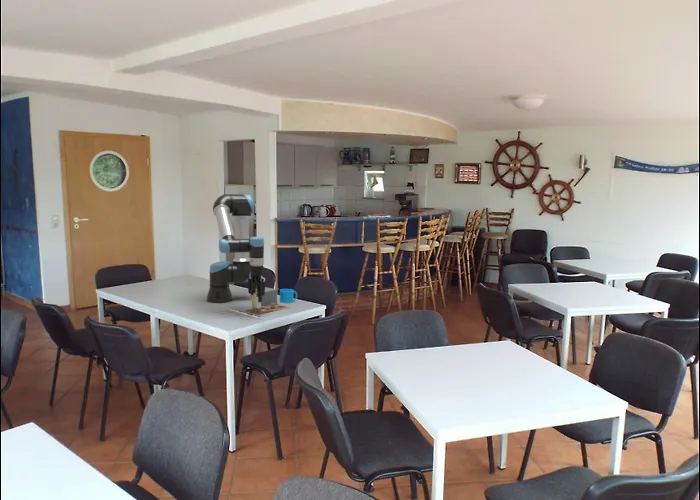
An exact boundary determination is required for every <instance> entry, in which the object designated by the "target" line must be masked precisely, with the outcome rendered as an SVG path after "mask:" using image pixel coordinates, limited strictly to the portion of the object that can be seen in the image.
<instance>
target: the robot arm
mask: <svg viewBox="0 0 700 500" xmlns="http://www.w3.org/2000/svg"><path fill="white" fill-rule="evenodd" d="M212 211H213V212H212V213H213V215H214V216H215V218H216V221H217V227H218V230H219V235H220V238H221V239H219V240H218V252H220V253H222V254H223V253H224V254H234V259H232V263H230V261H224V260H223V261H217V262H214V263H211V264H210V266H209V289H208V292H207V295H206V302H210V303H219V304H220V303H221V304H222V303H230V302H232V300H233V295H232V291H231V287H230V284H233V283H247V290H248V291H247V292H248V294H250V300H251V304H250V305H251V307H252V308H253V293H255V291H256V289H257V294H258V296H257V300H256V308H261V307H262V306H261V302H262V296H263V295H265V287H266V282H267V278H266V277H263V276H264V275H263V273H264V268H265V267H264V264H265V262H264V261H265V258H264V257H265V255H264V253H265V252H264V251H265V238H264V237H262V236H251V237H250V218H252V215H253V214H254V213H255V204H254V200H253V197H252V196H251V195H250V194H245V193H243V194H240V193H239V194H235V193H232V194H231V193H224V194H222V195H219V196H218V198H216V200H215V201H214V203H213V206H212ZM230 214H231V216H232V218H233V219H234V229H233V225H232V220H231V216H230Z"/></svg>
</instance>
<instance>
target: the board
mask: <svg viewBox="0 0 700 500" xmlns="http://www.w3.org/2000/svg"><path fill="white" fill-rule="evenodd" d="M261 307H262V308H266V309H270V310H274V311H273V312H278V311H282V310H288V309H291V308H292V307H290V306H287V305H283V304H282V305H281V304H278V303H277V304H275V303H271V305H268V306H261ZM266 309H265V310H266Z"/></svg>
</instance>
